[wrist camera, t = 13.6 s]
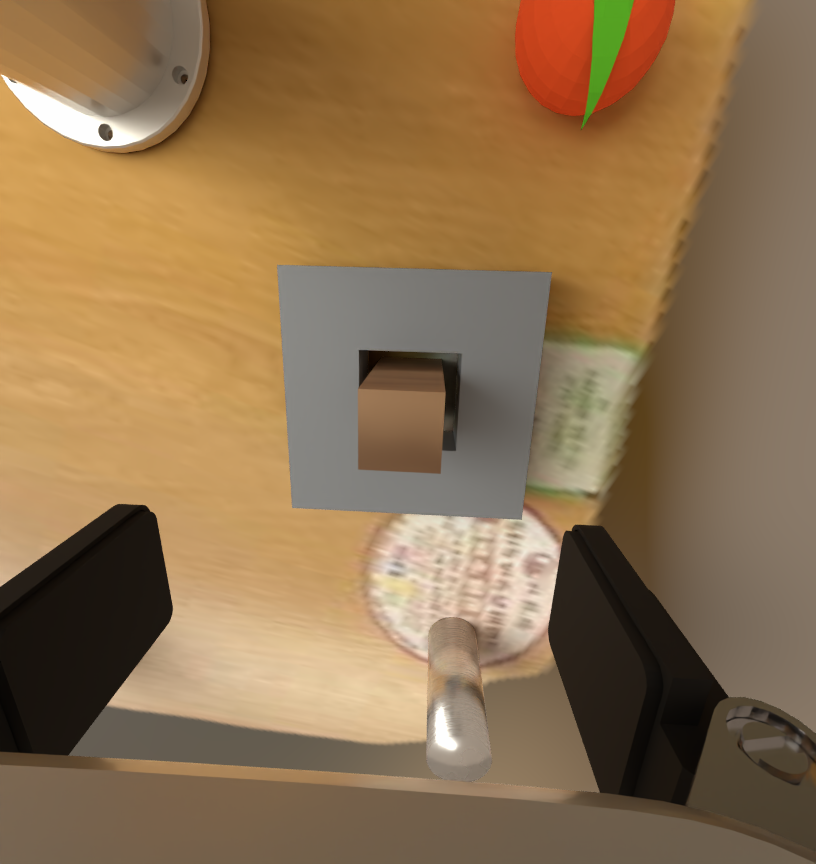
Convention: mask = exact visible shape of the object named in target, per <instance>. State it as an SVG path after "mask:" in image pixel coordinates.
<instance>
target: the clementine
mask: <svg viewBox="0 0 816 864" xmlns="http://www.w3.org/2000/svg"><path fill="white" fill-rule="evenodd" d="M674 6H675V0H521V3H520V8H519V13H518V18H517V23H516V33H515V46H516V60H517V64H518V68H519V72H520V76H521V78H522V80H523V81H524V83H525V85H526V87H527V89H528V91H529V92H530V94H531V95H532V96H533V97H534V98H535V99H536V100H537V101H538V102H539V103H540V104H541V105H542V106H544V107H546V108H548V109H550V110H552V111H554V112H556V113H559V114H564V115H570V116H578V115H584V119H583V123H582V127H581V129H582V128H583V126H584V125H585V123H586V122H587V120H588V118H589V117H590V115H591V114H592V113H594V112H596V111H599V110H601V109H603V108H606V107H608V106H610V105H611V104H613V103H615V102H616V101H618V100H619V99H620V98H621V97H623V96H624V95H625V94H627V93H628V92H629V91H631V90H632V89H633V88H634V87H635V86H636V84H637V83H638V82H639V81H640V80H641V78H642V77H643V76H644V75H645V74H646V72H647V71H648V70H649V68H650V67H651V65H652V64H653V62H654V61H655V59H656V57H657V55H658V53H659V51H660V49H661V47H662V45H663V44H664V42H665V40H666V37H667V34H668V30H669V27H670V23H671V20H672V16H673V12H674Z"/></svg>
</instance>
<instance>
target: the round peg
mask: <svg viewBox="0 0 816 864" xmlns="http://www.w3.org/2000/svg"><path fill="white" fill-rule="evenodd" d="M427 764H428V766H429V768H430V770H431V771H432V772H433V773H434V774H435V775H436V776H438V777H440V778H442V779H444V780H452V781H466V782H471V781H474V780H477V779H479V778H481V777H482V776H484V775H485V774H486V773H487V772H488V770H489V769H490V767H491V764H492V757H491V749H490V741H489V733H488V726H487V717H486V709H485V701H484V693H483V685H482V677H481V669H480V661H479V653H478V645H477V637H476V632H475V630H474V628H473V626H472V625H471V624H470V623H468V622H467V621H465V620H463V619H460V618H455V617H449V618H444V619H441V620H439V621H437V622H436V623H434V624H433V625H432V627H431V628H430V630H429V633H428V687H427Z"/></svg>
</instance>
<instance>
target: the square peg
mask: <svg viewBox="0 0 816 864" xmlns="http://www.w3.org/2000/svg"><path fill="white" fill-rule="evenodd" d="M445 394H446V392H445V384H444V375H443V367H442V359H427V358H402V357H382V358H381V359H380V360H379V362H378V363H377V364H376V365H375V367H374V368H373V369H372V371H371V372H370V373H369V375H368V376H367V377H366V379H365V380H364V381H363V383H362V384H361V385H360V387H359V388H358V470H375V471H395V472H414V473H433V474H441V460H442V443H443V427H444V410H445Z"/></svg>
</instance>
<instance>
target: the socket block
mask: <svg viewBox="0 0 816 864" xmlns="http://www.w3.org/2000/svg"><path fill="white" fill-rule="evenodd" d="M277 270H278V286H279V302H280V318H281V334H282V351H283V367H284V383H285V399H286V415H287V431H288V448H289V464H290V480H291V496H292V508H305V509H325V510H344V511H364V512H383V513H403V514H422V515H442V516H461V517H481V518H500V519H520V520H522V512H523V503H524V495H525V487H526V479H527V471H528V463H529V454H530V446H531V438H532V430H533V422H534V414H535V406H536V397H537V389H538V381H539V373H540V365H541V357H542V348H543V340H544V332H545V324H546V316H547V308H548V299H549V291H550V283H551V275H552V272H521V271H484V270H447V269H409V268H372V267H335V266H298V265H277ZM368 350H377V351H406V352H434V353H458V361H457V377H456V393H455V409H454V425H453V431H443V443H442V460H441V474H433V473H414V472H395V471H375V470H358V388H359V387H360V385H361V384H362V383H363V381H364V380H365V379H366V377H367V376H368Z"/></svg>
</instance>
